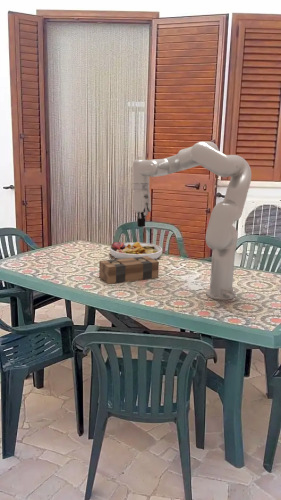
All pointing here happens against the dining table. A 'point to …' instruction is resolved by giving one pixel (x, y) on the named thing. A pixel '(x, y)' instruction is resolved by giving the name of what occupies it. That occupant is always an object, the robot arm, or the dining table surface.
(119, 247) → the bowl
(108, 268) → the banded wooden block
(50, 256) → the dining table surface
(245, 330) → the dining table surface
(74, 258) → the dining table surface
